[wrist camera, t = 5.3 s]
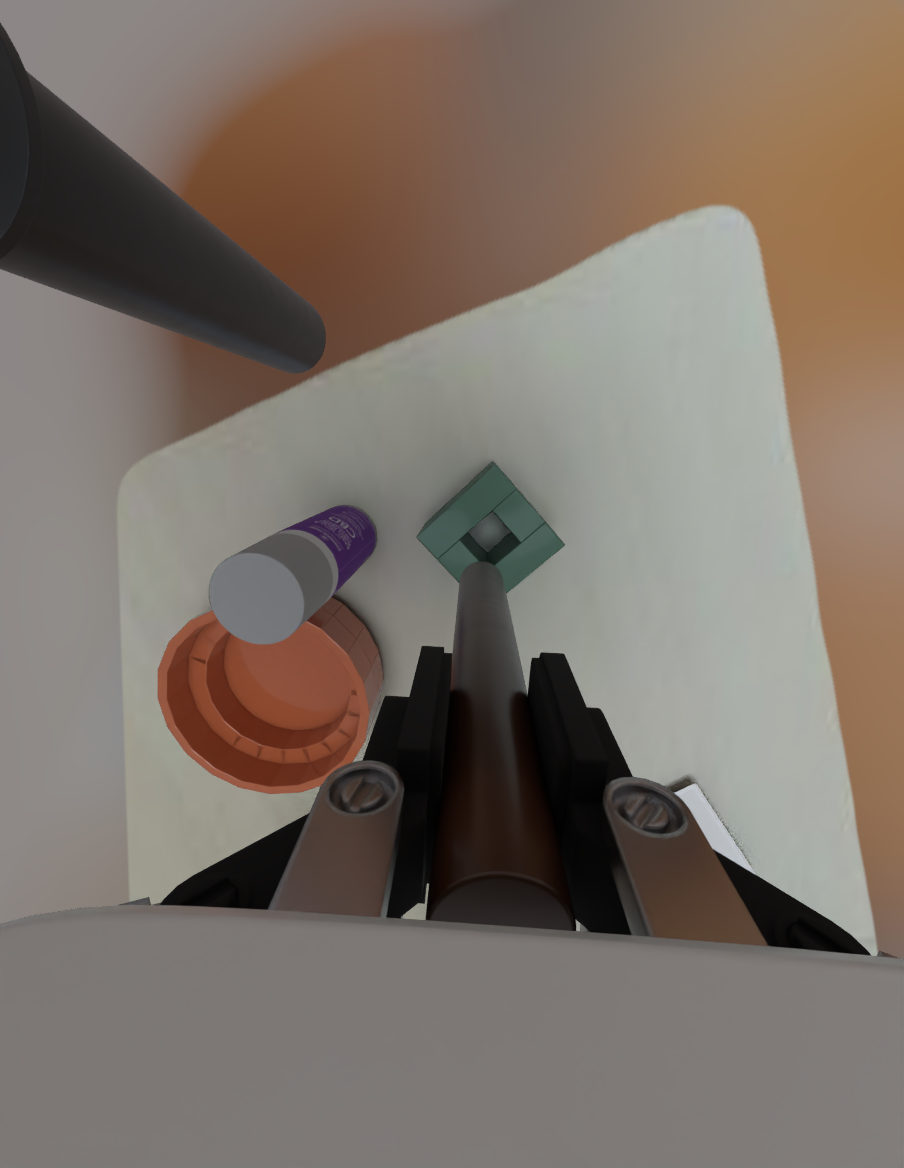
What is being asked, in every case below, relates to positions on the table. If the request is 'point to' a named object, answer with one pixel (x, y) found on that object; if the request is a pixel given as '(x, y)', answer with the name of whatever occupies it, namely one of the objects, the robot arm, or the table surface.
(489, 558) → the holder
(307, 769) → the bowl
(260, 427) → the table surface
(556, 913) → the stick
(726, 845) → the dessert
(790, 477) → the table surface
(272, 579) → the container
